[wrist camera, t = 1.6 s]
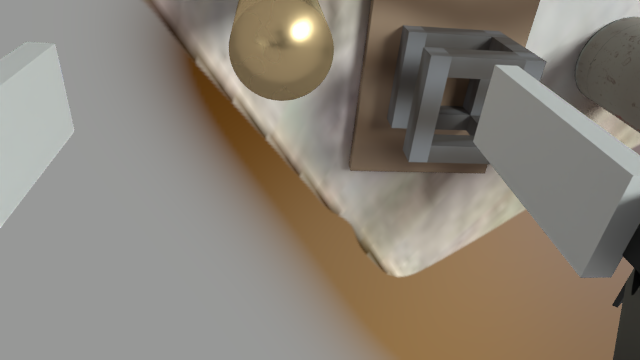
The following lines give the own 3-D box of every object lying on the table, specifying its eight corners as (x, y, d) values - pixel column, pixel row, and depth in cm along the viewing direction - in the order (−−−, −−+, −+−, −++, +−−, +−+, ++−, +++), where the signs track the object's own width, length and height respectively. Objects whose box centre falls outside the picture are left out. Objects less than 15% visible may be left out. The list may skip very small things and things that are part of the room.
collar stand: (378, -56, 36) (407, -39, 29) (546, -42, 38) (615, -23, 30) (349, 165, 47) (364, 220, 39) (481, 168, 49) (520, 221, 41)
